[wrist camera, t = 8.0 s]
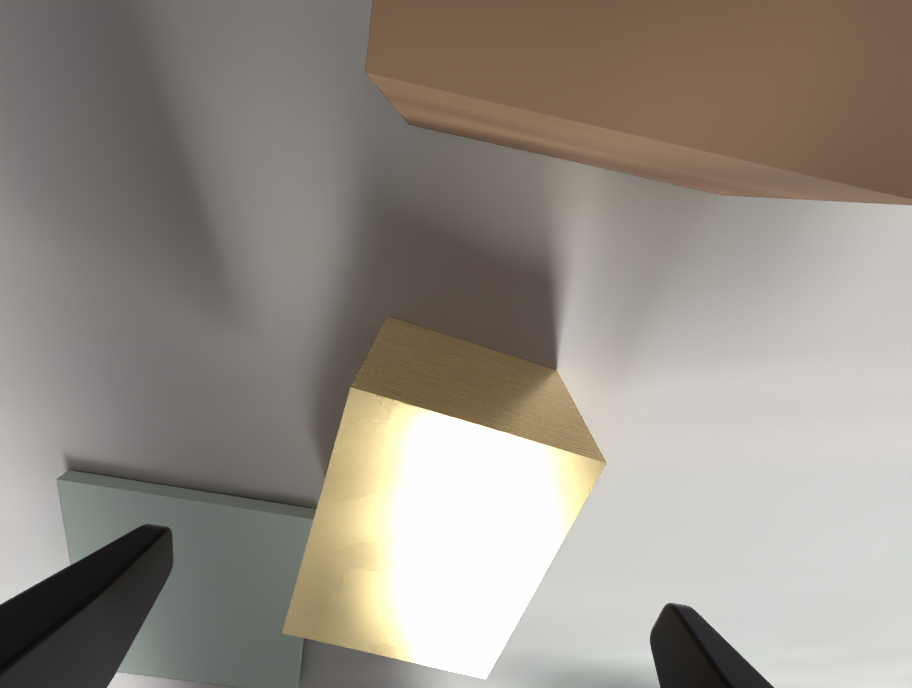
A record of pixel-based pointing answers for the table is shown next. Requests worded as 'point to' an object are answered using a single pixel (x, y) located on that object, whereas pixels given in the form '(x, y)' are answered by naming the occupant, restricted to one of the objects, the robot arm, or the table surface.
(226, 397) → the table surface
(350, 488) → the brass block
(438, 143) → the table surface
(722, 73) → the plane block
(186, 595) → the glass plate
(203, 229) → the table surface
